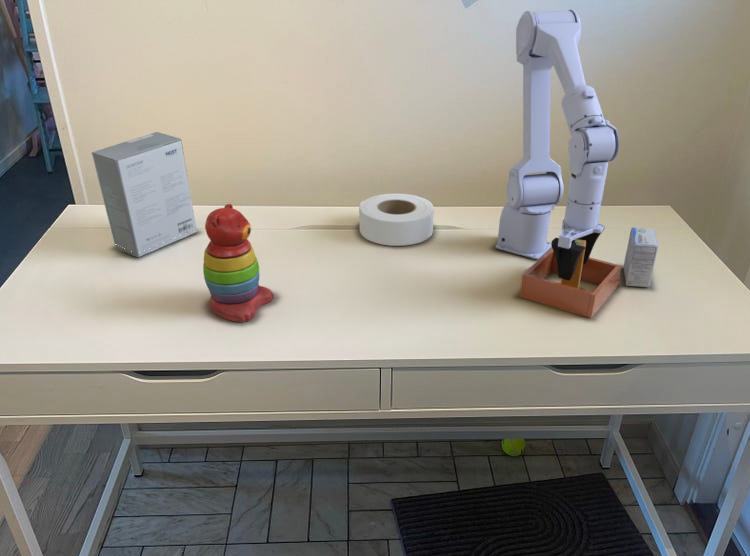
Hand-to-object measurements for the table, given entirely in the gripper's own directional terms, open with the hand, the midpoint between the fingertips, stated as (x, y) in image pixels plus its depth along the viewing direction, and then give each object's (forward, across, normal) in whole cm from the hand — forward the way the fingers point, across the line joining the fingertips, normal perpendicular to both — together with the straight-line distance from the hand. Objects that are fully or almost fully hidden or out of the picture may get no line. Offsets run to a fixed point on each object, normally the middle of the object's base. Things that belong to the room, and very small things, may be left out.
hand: (572, 270), depth 129 cm
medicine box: (+5, +12, -8) cm, 16 cm away
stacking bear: (+5, -37, +47) cm, 60 cm away
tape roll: (+4, +5, +41) cm, 42 cm away
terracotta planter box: (+4, 0, 0) cm, 5 cm away
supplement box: (+5, 0, 0) cm, 5 cm away
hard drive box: (+4, -28, +79) cm, 84 cm away
